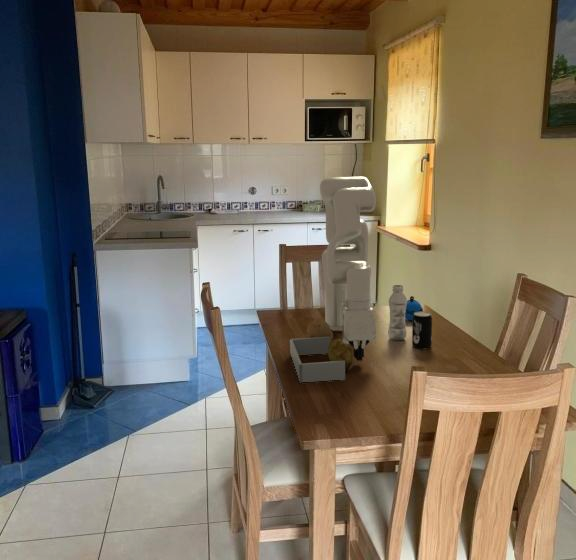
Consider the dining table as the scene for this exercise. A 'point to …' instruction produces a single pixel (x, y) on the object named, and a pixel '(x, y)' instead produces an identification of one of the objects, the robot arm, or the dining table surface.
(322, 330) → the natural sponge
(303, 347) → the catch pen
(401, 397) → the dining table surface
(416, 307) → the ornament
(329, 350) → the potato
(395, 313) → the plastic bottle
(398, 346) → the dining table surface
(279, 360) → the dining table surface
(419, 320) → the beverage can
